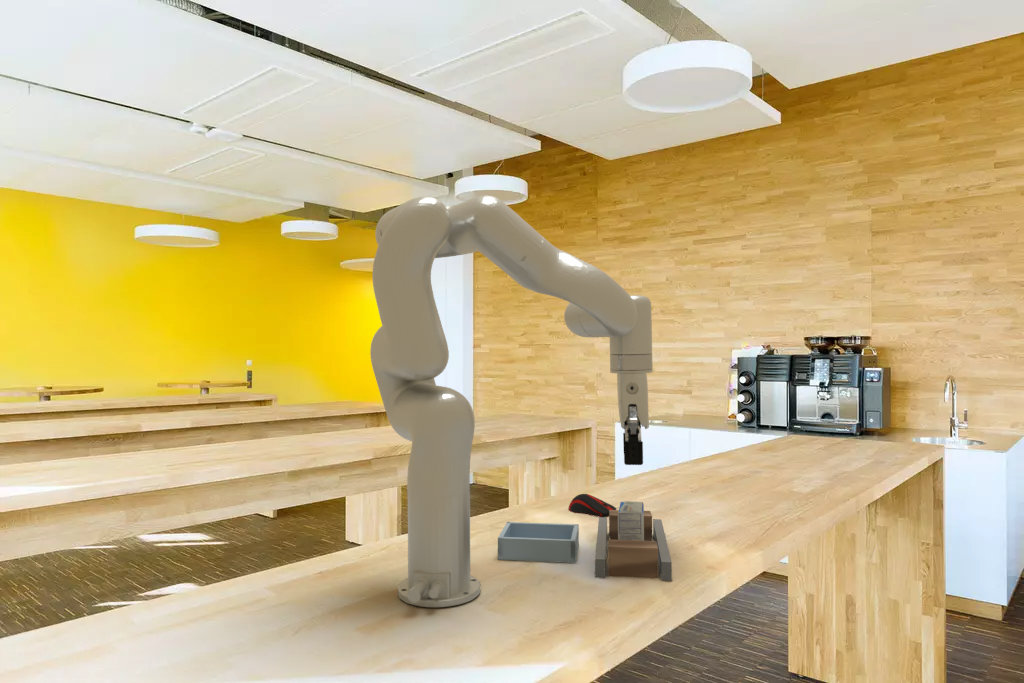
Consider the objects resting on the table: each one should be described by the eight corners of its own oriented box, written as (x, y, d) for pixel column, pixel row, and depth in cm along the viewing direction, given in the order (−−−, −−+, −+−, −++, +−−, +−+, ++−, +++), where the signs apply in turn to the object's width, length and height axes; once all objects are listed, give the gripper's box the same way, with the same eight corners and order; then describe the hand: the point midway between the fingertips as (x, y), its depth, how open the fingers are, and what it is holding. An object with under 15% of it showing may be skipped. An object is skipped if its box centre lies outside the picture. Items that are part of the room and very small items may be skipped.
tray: (575, 562, 119) (575, 541, 119) (497, 559, 121) (497, 537, 121) (578, 544, 129) (578, 524, 129) (507, 541, 131) (507, 521, 131)
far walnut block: (652, 542, 131) (652, 516, 131) (609, 541, 132) (609, 515, 132) (650, 536, 135) (650, 510, 135) (609, 535, 136) (609, 509, 136)
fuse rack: (671, 581, 110) (671, 562, 110) (595, 577, 112) (594, 559, 112) (661, 534, 136) (661, 519, 136) (599, 532, 137) (599, 517, 137)
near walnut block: (658, 579, 111) (658, 548, 111) (608, 577, 112) (608, 546, 112) (656, 570, 115) (656, 541, 115) (608, 568, 116) (608, 539, 116)
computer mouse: (605, 519, 148) (605, 501, 148) (563, 512, 155) (563, 494, 155) (620, 513, 153) (620, 495, 153) (578, 506, 160) (578, 489, 160)
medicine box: (643, 562, 119) (643, 512, 119) (617, 560, 120) (617, 511, 120) (644, 548, 127) (644, 501, 127) (619, 546, 128) (619, 500, 128)
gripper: (655, 366, 114) (657, 469, 115) (650, 361, 131) (651, 450, 132) (609, 367, 115) (611, 468, 116) (610, 362, 133) (612, 450, 133)
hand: (632, 459), depth 124 cm, fingers open, 9 cm apart
